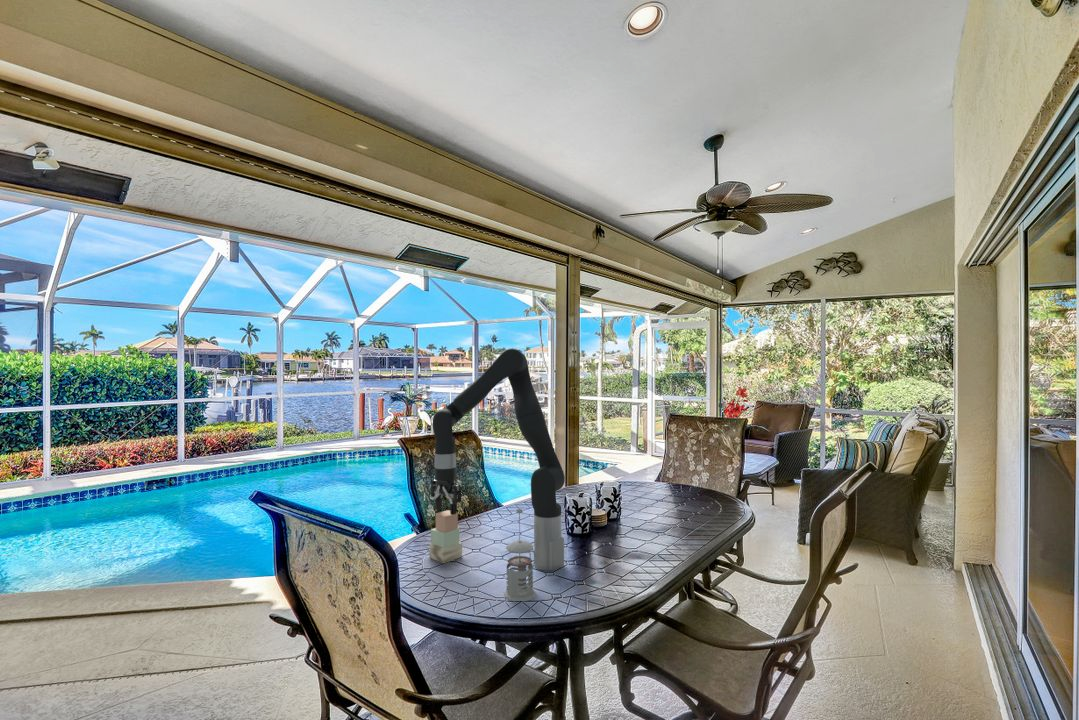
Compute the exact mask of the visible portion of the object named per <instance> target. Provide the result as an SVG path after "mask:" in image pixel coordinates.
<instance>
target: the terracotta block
mask: <svg viewBox="0 0 1079 720" xmlns="http://www.w3.org/2000/svg"><path fill="white" fill-rule="evenodd" d="M458 513H459V512H457V513H456V514H454V515H451V514H450V510H449V509H447V510H444V511H443V510H442V511H439V512H436V513H435V528H436V529H437V530H439V531H442V532H449V531H452V530H455V529H458V528H459V525H458V524H459V519H458V518H459V514H458Z"/></svg>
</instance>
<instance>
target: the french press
mask: <svg viewBox="0 0 1079 720" xmlns="http://www.w3.org/2000/svg"><path fill="white" fill-rule="evenodd" d="M523 512H524V511H523V509H522V508H517V509H516V514H518V517H519V518H518V524H519V525H518V528H519V529H518V531H519V533H518V539H519V540H514V541H512V542H509V543H508V544H507V545H506V547H505V549H506V550H507V551H508V552H509V553H511V554H519V555H517V556H512V557H510V558H508V559H507V564H506V589H505V590H504V591H503V594H504V596H505V597H506V598H507V599H506V598H505V597H504V596H503V597H504V598H505V599H506V600H508V599H509V600H508V601H510V600H511V602H515V601H522V602H527V601H528V602H529V601H530V600H533V599H534V598H536V596H537V591H536V590H535V589H534V584H533V583H534V572H533V571H534V568H535V566H534V563H535V553H534V545H533V544H532V543H530V542H528V541H526V540H521V514H522V513H523ZM531 551H532V552H533V560H532V558H531V557H532V556H531ZM526 553H529V557H528V556H523V555H522V554H526ZM532 562H533V564H532Z"/></svg>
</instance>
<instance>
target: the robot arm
mask: <svg viewBox="0 0 1079 720" xmlns="http://www.w3.org/2000/svg"><path fill="white" fill-rule="evenodd" d="M506 378H507V379H508V381H509V384H510V386H511V390H512V394H513V403H514V413H515V416H516V420H517V423H518V427H519V431H520V433H521V434H522V436H523V438H524V440H525V441H526V442H527V443H528V445H529V446H530V448H531V449H532V451H533V453H534V454H535V456H536V458H537V462H538V468H537V469H535V470H534V471H533V473H532V474H531V478H530V495H531V505H532V508H533V539H534V540H533V543H534V545H533V550H534V552H533V554H534V553H535V563H534V562H533V564H534V568H536V569H538V570H541V571H548V572H554V571H556V570H558V569H561V568H563V567H565V537H563V535H562V506H561V505H560V503H559V502H558V503H557V495H556V492H558V491H559V490H561V489H562V488H563V487H564V485H565V483H566V482H565V481H566V479H565V473H564V470H563V468H562V465H561V462H560V460H559V458H558V455H557V453H556V450H555V449H554V448H555V447H554V446H553V441H552V439H551V436H550V433H549V430H548V427H547V423H546V420H545V416H544V413H543V409H542V407H541V404H540V401H539V399H538V396H537V393H536V391H535V389H534V387H533V383H532V379H531V374H530V369H529V364H528V359H527V357H526V355H525V354H524V353H523V352H521V351H520V350H518V349H517V348H514V347H513V348H512V347H511V348H507V349H505V350H503V351H502V352H501V353H500V354H499V355H498V357H497V358H496V359H495V360H494V361H493V363H491V365H489V367H488V368H487V369H486V370H485V371H484V372H483V373H482V374H481V375H480V376H479V377H477V379H476V380H475V381H473V382H472V383H471V384H469V386H467V387H466V388H465V389H464V390H463V391H461V392H460V393H458V395H457V396H456V397H455V398H454V399H453V401H452V402H450V403H449V404H448V405H447V406H446V407H444V408H442V409H440V410H438V411H436V412H435V413H434V415H433V418H432V430H433V436H434V439H435V440H434V444H435V445H434V479H433V480H431V482H430V496H431V498H433V499H434V504H435V505H434V508H435V509H434V510H435V511H440V510H442V508H443V507H442V506H443V505H442V504H443V503H442V500H443V499H442V497H443V496H445V497H446V498H447V499H448V500H449V503H450V504H449V505H450V507H449V509H450V514H451V515H454V514H456V513H458V503H461V502H462V487H461V484H460V483H458V484H455V480H457V457H456V456H457V455H456V440H455V439H456V438H455V437H454V436H453V426H455V425H456V424H457V423H458V422H460V420H461V419H462V418H463V417H464V416H465V415H466V414H468V413H470V412H471V411H472V410H473V409H474V408H476V407H477V406H478V405H479V404H480V403H481V402H483V400H484V399H485V398H486V397H487V396H488V395H489V394H490V392H491V391H492V390H493V389H494V388H495V387H496V386H497V385H498V384H499V383H501V382H502V381H503V380H505V379H506Z"/></svg>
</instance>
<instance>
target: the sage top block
mask: <svg viewBox="0 0 1079 720" xmlns="http://www.w3.org/2000/svg"><path fill="white" fill-rule="evenodd" d="M459 542H460V527H458V529H455V530H452V531H449V532H442V531H439V530H437V529H436V527H434V528H432V529H430V543H431V544H433V545H436V546H439V547H442V548H446V547H449V546H451V545H454V544H457V543H459Z"/></svg>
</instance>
